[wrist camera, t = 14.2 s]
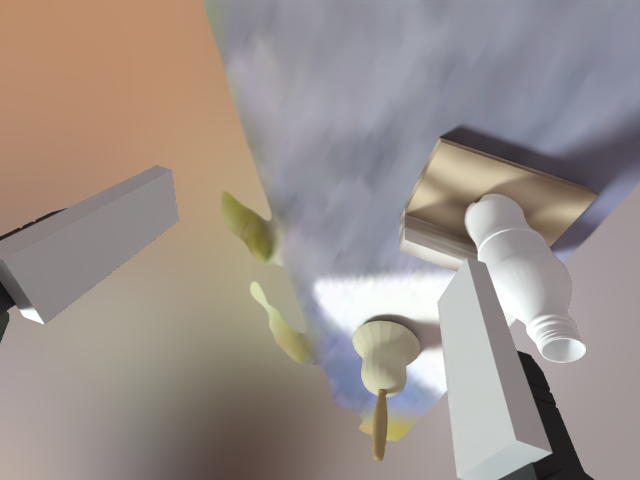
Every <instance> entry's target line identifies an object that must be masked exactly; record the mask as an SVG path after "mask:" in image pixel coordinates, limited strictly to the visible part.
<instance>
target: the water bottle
mask: <svg viewBox="0 0 640 480" xmlns="http://www.w3.org/2000/svg"><path fill="white" fill-rule="evenodd" d="M464 222H465V227H466V230H467V232H468V234H469V236H470V237H471V238H472V239H473V241H474V242H475V244H476V247H477V250H478V261H481V262H484V263H486V265H487V268H488V271H489V274H490V276H491V279H492V282H493V285H494V288H495V291H496V294H497V296H498V299H499V302H500V305H501V308H503V309H504V310H505V311H507V312H508V313H510V314H511V315H512V316H514V317H516V318H517V319H519V320H521V321H522V322H523V323H525V325H526V331H527V333H528V335H529V336H530V337H531V338H532V340H533V341H534V342H535V343H536V345H537V347H538V349H539V351H540V352H541V354H542V356H543V357H545V358H546V359H547V360H550V361H553V362H561V363H563V362H571V361H574V360H577V359H579V358H580V357H582V356H583V355H584V353H585V351H586V348H585V344H584V342H583V340H582V339H581V338H580V336H579V334H578V329H577V324H576V322H575V321H574V320H573V319H572V318H571V317H569V316H568V308H569V304H570V299H571V293H572V281H571V277H570V274H569V272H568V270H567V268H566V267H565V265H564V264H563V263H562V262H561V261H560V260H558V258H557V257H556V256H555V254H554V253H553V252H552V250H551V249H550V248H549V246H548V245H547V244H546V242H545V240H544V238H543V237H542V236H541V235H540V234H539V233H538V232H536V231H535V230H533V229H531V228H530V226H529V225H528V224H527V222H526V220H525V217H524V213H523V210H522V209H521V207H520V206H519V205H518V204H517V203H516V202H515V201H513V200H512V199H510V198H508V197H506V196H504V195H501V194H487V195H484V196H483V197H482V198H481V199H480V201H479V202H477V203H474V202H473V203H471V204H470V205H469V207H468V208H467V210H466V213H465V219H464Z"/></svg>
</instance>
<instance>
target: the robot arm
mask: <svg viewBox="0 0 640 480" xmlns="http://www.w3.org/2000/svg"><path fill="white" fill-rule="evenodd" d="M178 221H179V218H178V212H177V204H176V197H175V189H174V182H173V176H172V170H170V169H167V168H163V167H160V166H154V167H152V168H150V169H148V170H146V171H144V172H142V173H140V174H138V175H136V176H134V177H131V178H129V179H127V180H125V181H123V182H121V183H119V184H117V185H115V186H113V187H111V188H109V189H107V190H105V191H103V192H100V193H98V194H97V195H94V196H92V197H90V198H88V199H86V200H84V201H82V202H80V203H78V204H76V205H73V206H71V207H69V208H66V209H63V210H59V211H55V212H51V213H49V214H47V215H45V216H43V217H41V218H39V219H37V220H36V221H35V222H30V223H28V224H26V225H24V226H23V227H22V228H17V229H15V230H13V231H11V232H9V233H7V234H5V235H3V236H1V237H0V342H1V340H2V337H3V334H4V332H5V329H6V327H7V324H8V322H9V313H8V312H7V310H8V309H10V308H11V307H13V306H14V305H17V307H18V309H19V310H20V311H21V313H22V314H23V316H24V317H26V318H29V319H32V320H34V321H37V322H40V323H42V324H46V323H47V322H48V321H50V320H51V319H52V318H54V317H55V316H56V315H58V314H59V313H60V312H61V311H63V310H64V309H65V308H67V307H68V306H69V305H70V304H72V303H73V302H74V301H76V300H77V299H78V298H80V297H81V296H82V295H83V294H85V293H86V292H87V291H89V290H90V289H91V288H93V287H94V286H95V285H96V284H98V283H99V282H100V281H102V280H103V279H104V278H105V277H106V276H108V275H109V274H111V273H112V272H113V271H115V270H116V269H117V268H118V267H120V266H121V265H122V264H124V263H125V262H126V261H128V260H129V259H130V258H131V257H133V256H134V255H135V254H137V253H138V252H139V251H140V250H142V249H143V248H144V247H146V246H147V245H148V244H150V243H151V242H152V241H154V240H155V239H156V238H157V237H159V236H160V235H161V234H162V233H164V232H165V231H166V230H168V229H169V228H170V227H171V226H173V225H174V224H175V223H177V222H178ZM438 311H439V320H440V329H441V338H442V347H443V356H444V365H445V374H446V383H447V392H448V401H449V410H450V418H451V427H452V436H453V445H454V454H455V463H456V472H457V477H458V478H460V479H463V480H594V479H593V478H591V477H590V476H589V475H587V474H586V473H585V472H584V470H583V468H582V466H581V464H580V461H579V459H578V456H577V454H576V451H575V449H574V447H573V444H572V442H571V439H570V437H569V434H568V432H567V429H566V427H565V425H564V422H563V420H562V417H561V415H560V413H559V410H558V408H556V406H555V405H556V403H555V400H554V398H553V395H552V393H550V392H549V391H550V388H549V386H548V383H547V381H546V378H545V376H544V373H543V371H542V370H541V369H540V367H539V366H538V365H537V363H536V362H535V361H534V359H533V358H532V357H531V355H529V354H526V353H523V352H520V351H517V350H516V347H515V345H514V342H513V339H512V336H511V333H510V331H509V328H508V325H507V322H506V319H505V316H504V313H503V311H502V308H501V305H500V302H499V299H498V296H497V294H496V291H495V288H494V285H493V282H492V279H491V276H490V274H489V271H488V268H487V265H486V263H484V262H481V261H477V260H474V259H471V258H467V257H466V259H465V260H464V262H463V264H462V265H461V267H460V268H459V270H458V271H457V273H456V274H455V276H454V277H453V279H452V281H451V282H450V284H449V285H448V287H447V288H446V290H445V291H444V293H443V294H442V296H441V298H440V299H439V301H438Z"/></svg>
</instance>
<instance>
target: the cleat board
mask: <svg viewBox="0 0 640 480" xmlns="http://www.w3.org/2000/svg"><path fill="white" fill-rule="evenodd" d="M487 194H501V195H504V196H506V197H508V198H510V199H512V200H513V201H515V202H516V203H517V204H518V205H519V206H520V207H521V209H522V210H523V213H524V217H525V220H526V222H527V224H528V225H529V226H530V228H531V229H533V230H535V231H536V232H538V233H539V234H540V235H541V236H542V237H543V238H544V240H545V242H546V244H547V245H548V246H549V248H550V247H551V246H552V245H553V244H554V243H555V241H556V240H557V239H558V238H559V237H560V236H561V235H562V234H563V233H564V232H565V231H566V230H567V229H568V228H569V227H570V226H571V224H572V223H573V222H574V221H575V220H576V219H577V218H578V217H579V216H580V215H581V214H582V213H583V212H584V211H585V210H586V209H587V207H588V206H589V205H590V204H591V203H592V202H593V201H594V200H595V199H596V198H597V197H598V196H599V195H597V194H596V193H594V192H593V191H592V190H590V189H589V188H587V187H585V186H582V185H579V184H576V183H573V182H570V181H567V180H564V179H561V178H559V177H556V176H553V175H550V174H547V173H544V172H541V171H538V170H535V169H532V168H529V167H526V166H523V165H520V164H517V163H514V162H511V161H509V160H506V159H503V158H500V157H497V156H494V155H491V154H488V153H485V152H482V151H479V150H476V149H473V148H470V147H467V146H464V145H461V144H458V143H456V142H453V141H450V140H447V139H444V138H441V137H439V139H438V141H437V143H436V145H435V147H434V149H433V151H432V153H431V155H430V157H429V159H428V161H427V163H426V165H425V167H424V169H423V171H422V173H421V175H420V177H419V179H418V181H417V183H416V185H415V187H414V189H413V191H412V193H411V195H410V197H409V199H408V201H407V203H406V205H405V207H404V209H403V211H402V213H401V215H400V235H399V251H402V252H404V253H407V254H410V255H413V256H415V257H418V258H421V259H424V260H426V261H429V262H432V263H435V264H437V265H440V266H443V267H446V268H448V269H451V270H454V271H458V270H459V268H460V267H461V265H462V264H463V262H464V260H465V259H466V257H467V258H471V259H474V260H477V261H478V250H477V247H476V244H475V242H474V241H473V239H472V238H471V237H470V236H469V234H468V232H467V230H466V227H465V222H464V219H465V213H466V210H467V208H468V207H469V205H470V204H471V203H473V202H474V203H477V202H479V201H480V199H481V198H482V197H483V196H484V195H487Z"/></svg>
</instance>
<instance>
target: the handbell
mask: <svg viewBox="0 0 640 480" xmlns="http://www.w3.org/2000/svg"><path fill="white" fill-rule="evenodd" d="M352 341H353V344H354V347H355V350H356V351H357V352H358V354H359V355H360V356H361V357H362V358H363V365H362V370H361V376H362V380H363V383H364V385H365V387H366V388H367V389H368V390H369V391H370V392H372V393H373V394H375V395H377V396H378V399H377V403H376V407H375V412H374V419H373V434H372V453H373V457H374V459H375V460H376V461H382V459H383V457H384V451H385V444H386V436H387V403H386V397H393V396H396V395H398V394H399V393H400V392H402V391H403V389H404V386H405V384H406V378H407V376H406V366H407V365H409V364H410V363H412V362H413V361H414V360H415V359H416V358H417V357H418V355H419V353H420V350H421V348H420V342H419V340H418V339H417V337H416V336H415V335H414V333H413V332H412V331H410V330H409V329H407V328H406V327H404V326H402V325H400V324H397V323H394V322H389V321H373V322H368V323H366V324H364V325H362V326H360V327H359V328H358V329H357V330H356V331H355V332H354V334H353V340H352Z"/></svg>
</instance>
